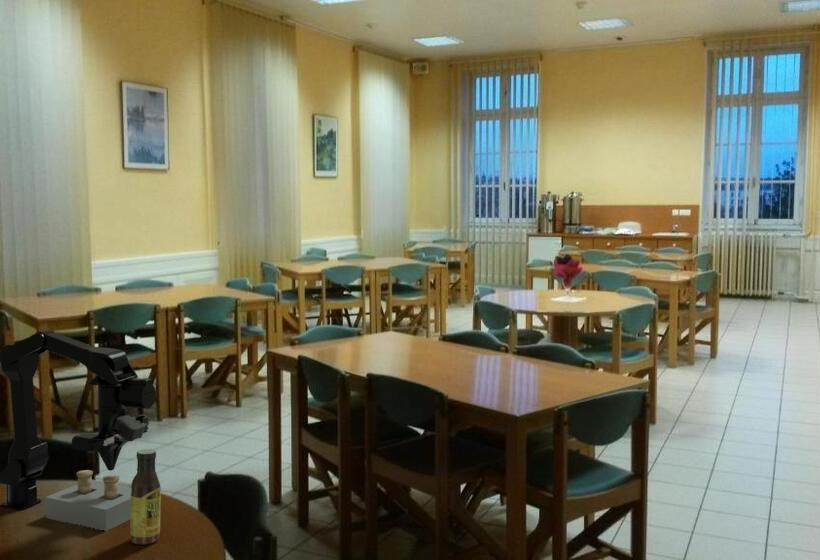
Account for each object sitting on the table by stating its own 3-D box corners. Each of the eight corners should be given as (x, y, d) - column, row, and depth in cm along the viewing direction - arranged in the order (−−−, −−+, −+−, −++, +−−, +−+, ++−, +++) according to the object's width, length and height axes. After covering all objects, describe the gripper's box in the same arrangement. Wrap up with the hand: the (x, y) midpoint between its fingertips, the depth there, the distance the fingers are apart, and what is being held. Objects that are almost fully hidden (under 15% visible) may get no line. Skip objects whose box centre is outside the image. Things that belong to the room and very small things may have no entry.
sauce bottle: (150, 547, 168) (150, 457, 167) (124, 544, 170) (124, 454, 168) (166, 535, 175) (166, 448, 173) (140, 532, 176) (140, 446, 174)
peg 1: (73, 496, 186) (73, 473, 186) (84, 491, 190) (84, 469, 189) (85, 498, 185) (84, 475, 184) (96, 493, 188) (96, 471, 188)
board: (45, 517, 183) (45, 497, 182) (90, 498, 196) (90, 479, 195) (106, 531, 176) (106, 509, 176) (148, 510, 189) (148, 490, 189)
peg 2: (99, 501, 183) (99, 478, 183) (110, 496, 187) (110, 474, 186) (111, 504, 182) (111, 481, 182) (122, 499, 185) (122, 476, 185)
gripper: (108, 417, 171) (109, 487, 172) (165, 400, 188) (165, 463, 189) (69, 411, 175) (70, 480, 176) (128, 395, 192) (128, 457, 193)
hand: (110, 470), depth 184 cm, fingers closed
